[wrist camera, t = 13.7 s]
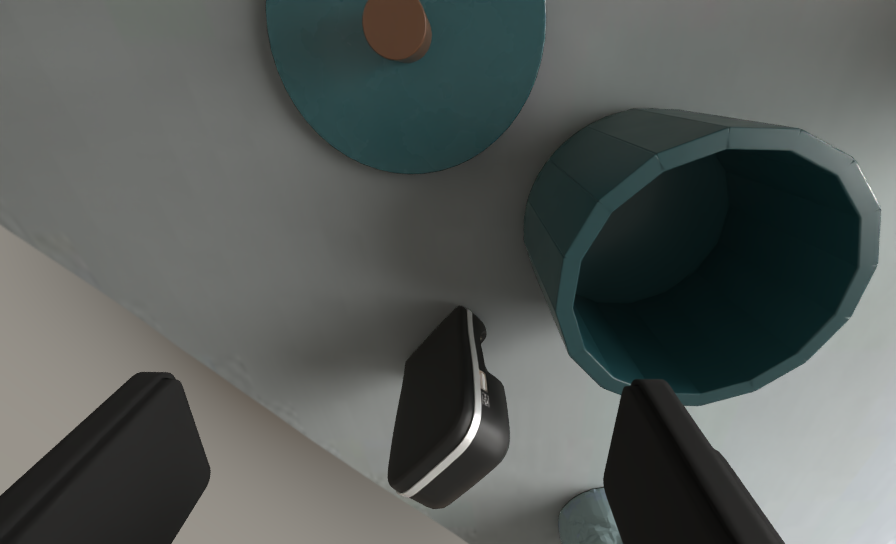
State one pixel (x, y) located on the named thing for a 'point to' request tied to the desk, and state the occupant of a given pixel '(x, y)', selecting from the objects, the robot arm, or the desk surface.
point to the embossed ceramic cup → (588, 520)
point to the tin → (699, 249)
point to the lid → (408, 74)
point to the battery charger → (448, 416)
